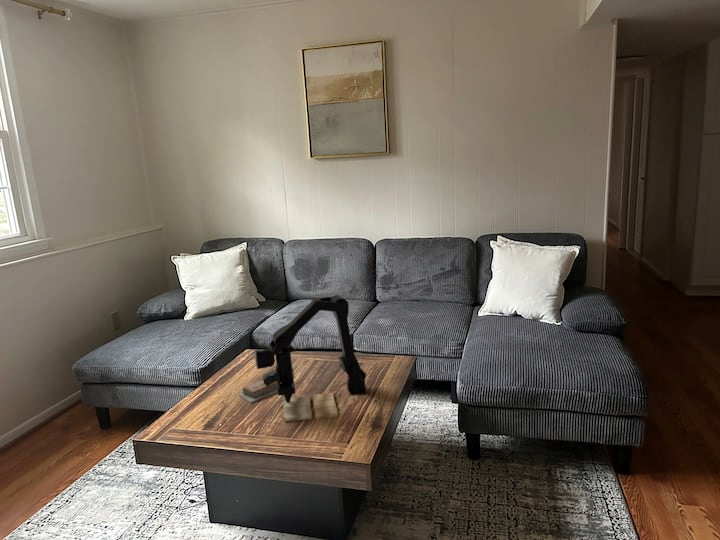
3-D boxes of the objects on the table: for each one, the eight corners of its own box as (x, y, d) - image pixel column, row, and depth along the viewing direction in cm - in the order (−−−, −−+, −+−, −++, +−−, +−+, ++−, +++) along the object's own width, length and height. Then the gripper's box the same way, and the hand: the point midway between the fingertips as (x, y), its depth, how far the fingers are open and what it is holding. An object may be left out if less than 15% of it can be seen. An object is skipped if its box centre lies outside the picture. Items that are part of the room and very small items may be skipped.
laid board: (332, 395, 209) (332, 392, 208) (338, 416, 191) (337, 413, 191) (312, 397, 208) (312, 394, 207) (315, 419, 190) (315, 416, 190)
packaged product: (274, 371, 225) (287, 378, 217) (275, 382, 226) (288, 388, 218) (236, 386, 213) (249, 393, 206) (238, 397, 214) (251, 404, 207)
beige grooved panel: (309, 399, 206) (309, 396, 206) (312, 418, 191) (312, 415, 191) (283, 401, 205) (283, 398, 205) (284, 421, 189) (284, 417, 189)
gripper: (262, 357, 207) (267, 394, 210) (261, 376, 189) (266, 416, 192) (291, 353, 208) (295, 390, 211) (293, 372, 190) (297, 412, 193)
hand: (288, 402), depth 202 cm, fingers closed, pressing on beige grooved panel
